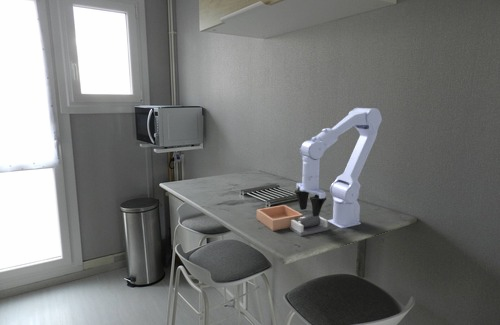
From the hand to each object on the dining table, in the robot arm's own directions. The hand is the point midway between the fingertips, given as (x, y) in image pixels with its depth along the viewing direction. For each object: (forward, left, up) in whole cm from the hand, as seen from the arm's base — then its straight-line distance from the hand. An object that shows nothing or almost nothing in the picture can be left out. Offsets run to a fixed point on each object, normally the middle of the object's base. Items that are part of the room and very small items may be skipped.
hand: (309, 212), depth 118 cm
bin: (+6, -11, -6) cm, 14 cm away
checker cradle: (0, 0, -6) cm, 6 cm away
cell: (0, 0, -4) cm, 4 cm away
